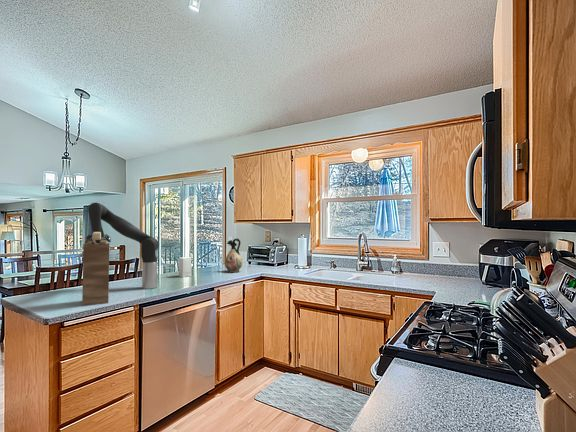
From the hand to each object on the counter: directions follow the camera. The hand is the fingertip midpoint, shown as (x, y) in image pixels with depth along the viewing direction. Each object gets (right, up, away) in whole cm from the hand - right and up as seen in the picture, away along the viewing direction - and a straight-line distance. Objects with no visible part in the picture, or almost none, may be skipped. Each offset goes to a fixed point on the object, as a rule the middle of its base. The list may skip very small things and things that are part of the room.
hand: (97, 232), depth 187 cm
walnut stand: (+4, -38, -8) cm, 39 cm away
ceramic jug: (+62, -40, +102) cm, 126 cm away
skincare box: (+26, -40, +76) cm, 90 cm away
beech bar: (+3, -3, -5) cm, 6 cm away
